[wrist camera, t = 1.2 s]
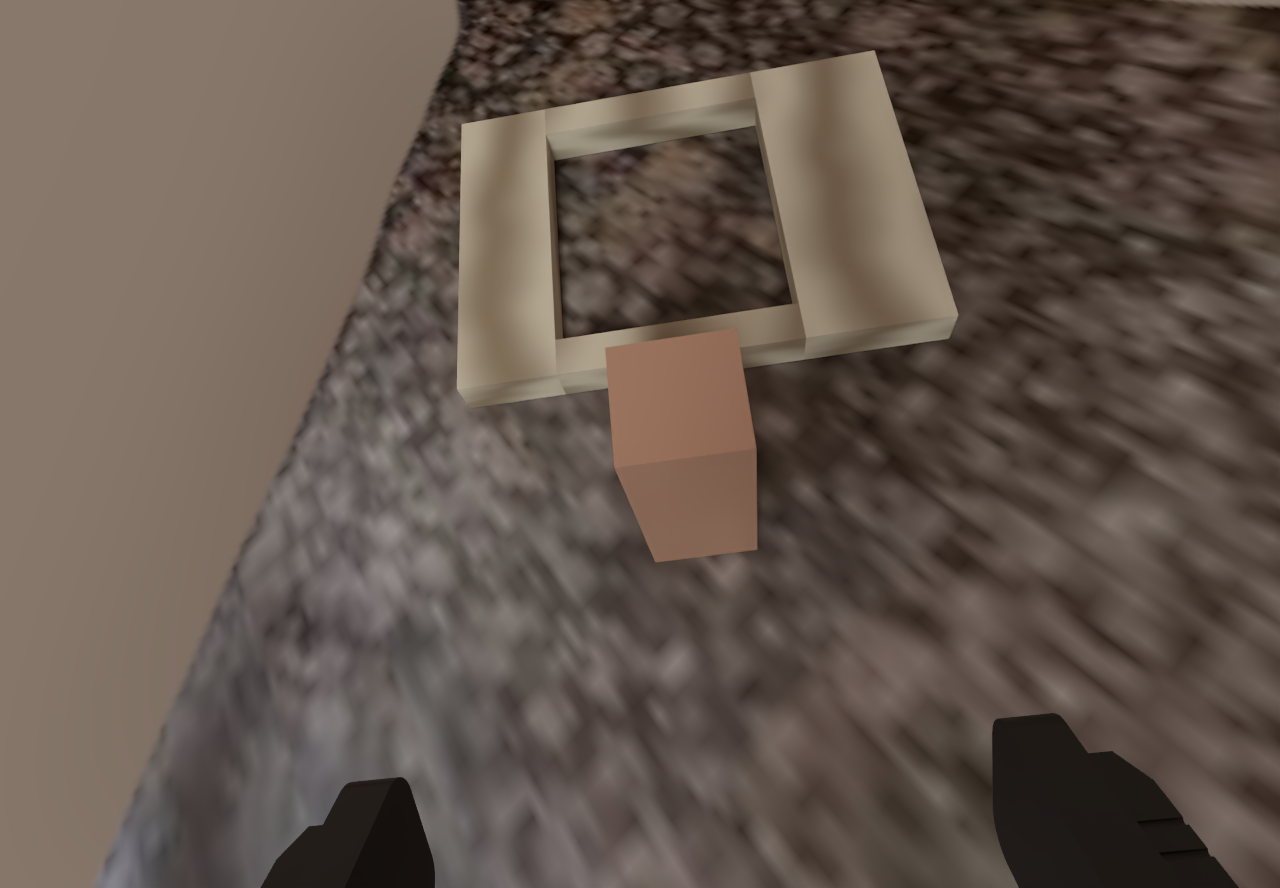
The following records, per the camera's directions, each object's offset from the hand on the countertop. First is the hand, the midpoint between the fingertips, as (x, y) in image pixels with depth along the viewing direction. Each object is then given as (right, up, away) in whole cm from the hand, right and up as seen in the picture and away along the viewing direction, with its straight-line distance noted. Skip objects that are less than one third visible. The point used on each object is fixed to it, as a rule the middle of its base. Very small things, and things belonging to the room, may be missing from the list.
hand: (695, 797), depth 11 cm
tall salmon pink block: (+2, +2, +25) cm, 25 cm away
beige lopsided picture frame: (+2, +16, +32) cm, 36 cm away
